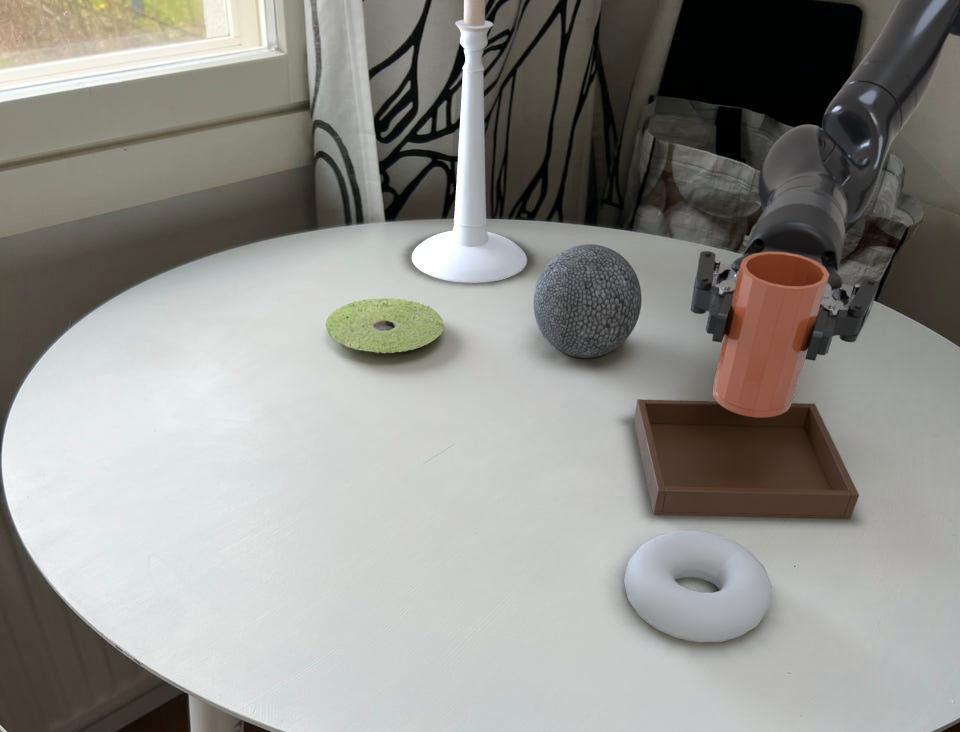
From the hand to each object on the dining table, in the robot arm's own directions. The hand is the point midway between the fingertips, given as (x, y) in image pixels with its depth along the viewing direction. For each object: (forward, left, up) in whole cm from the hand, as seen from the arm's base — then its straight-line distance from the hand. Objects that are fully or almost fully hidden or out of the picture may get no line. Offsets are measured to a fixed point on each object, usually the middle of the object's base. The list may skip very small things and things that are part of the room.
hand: (766, 338), depth 67 cm
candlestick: (+21, -42, -13) cm, 49 cm away
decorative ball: (+10, -22, -13) cm, 28 cm away
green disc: (+29, -23, -13) cm, 39 cm away
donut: (+5, +14, -13) cm, 20 cm away
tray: (-1, -2, -13) cm, 13 cm away
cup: (-1, -2, -6) cm, 6 cm away
